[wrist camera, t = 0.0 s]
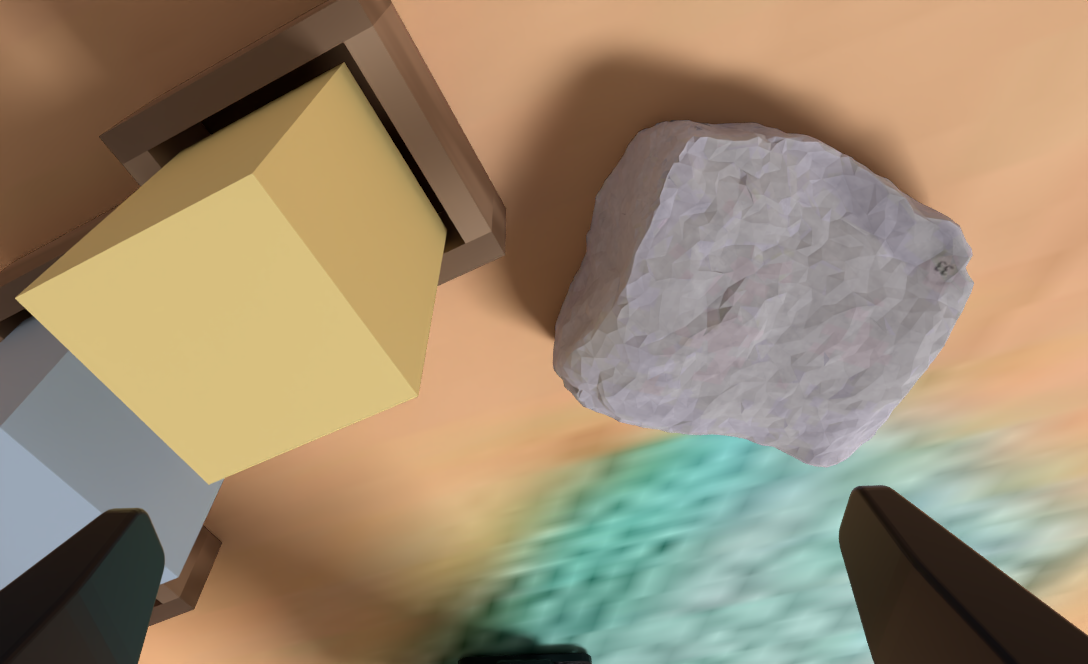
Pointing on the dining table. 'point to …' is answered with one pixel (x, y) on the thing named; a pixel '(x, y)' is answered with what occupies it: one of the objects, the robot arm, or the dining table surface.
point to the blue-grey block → (81, 459)
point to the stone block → (757, 291)
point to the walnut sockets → (176, 116)
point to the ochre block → (258, 283)
